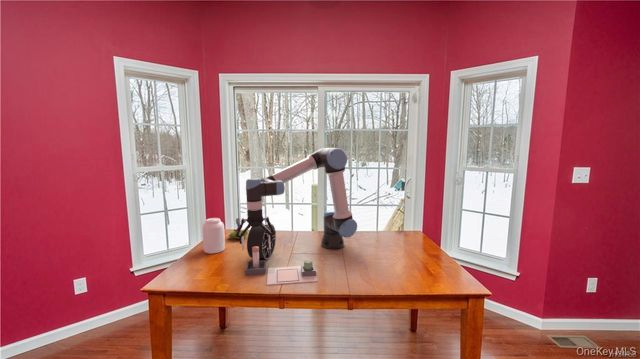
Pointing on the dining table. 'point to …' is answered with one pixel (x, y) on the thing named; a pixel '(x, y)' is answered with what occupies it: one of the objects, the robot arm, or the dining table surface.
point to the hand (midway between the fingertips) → (256, 248)
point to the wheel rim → (260, 242)
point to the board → (287, 276)
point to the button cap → (308, 265)
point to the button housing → (308, 272)
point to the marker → (255, 257)
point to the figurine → (237, 230)
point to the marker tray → (251, 271)
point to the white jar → (213, 236)
